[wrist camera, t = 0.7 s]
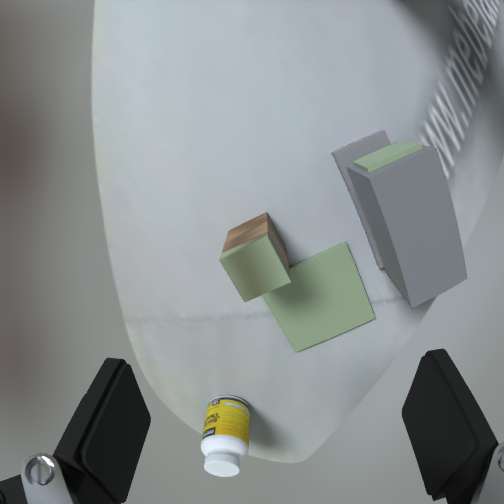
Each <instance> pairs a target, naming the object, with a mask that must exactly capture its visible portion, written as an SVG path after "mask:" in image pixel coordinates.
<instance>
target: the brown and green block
mask: <svg viewBox="0 0 504 504" xmlns="http://www.w3.org/2000/svg"><path fill="white" fill-rule="evenodd" d="M219 261H220V262H221V264H222V266H223V267H224V269H225V271H226V272H227V274H228V276H229V277H230V279H231V281H232V282H233V284H234V286H235V287H236V289H237V291H238V292H239V294H240V295H241V297H242V299H243V300H244V302H247V301H249V300H251V299H254V298H256V297H258V296H261V295H263V294H265V293H268V292H270V291H272V290H274V289H277V288H279V287H281V286H283V285H286V284H288V283H290V282H291V278H290V272H289V266H288V260H287V254H286V249H285V246H284V244H283V242H282V241H281V239H280V237H279V235H278V233H277V231H276V229H275V227H274V225H273V223H272V221H271V219H270V217H269V215H268V213H267V212H266V213H264V214H262V215H260V216H258V217H256V218H254V219H252V220H250V221H247V222H245V223H243V224H241V225H239V226H237V227H235V228H233V229H231V230H229V232H228V235H227V238H226V241H225V244H224V248H223V251H222V254H221V257H220V260H219Z"/></svg>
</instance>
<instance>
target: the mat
mask: <svg viewBox="0 0 504 504" xmlns="http://www.w3.org/2000/svg"><path fill="white" fill-rule="evenodd" d="M289 272H290V278H291V282H290V283H288V284H286V285H283V286H281V287H279V288H277V289H274V290H272V291H270V292H268V293H265V294H263V295H262V297H263V298H264V300H265V302H266V304H267V305H268V307H269V309H270V310H271V312H272V314H273V316H274V317H275V319H276V321H277V322H278V324H279V326H280V328H281V329H282V331H283V333H284V334H285V336H286V338H287V340H288V341H289V343H290V345H291V346H292V348H293V350H294V351H295V352H298V351H300V350H303V349H305V348H308V347H310V346H313V345H315V344H318V343H320V342H322V341H325V340H327V339H330V338H332V337H334V336H337V335H339V334H341V333H344V332H346V331H348V330H350V329H353V328H355V327H357V326H359V325H362V324H364V323H366V322H368V321H370V320H372V319H375V316H374V314H373V311H372V308H371V305H370V303H369V300H368V297H367V294H366V292H365V289H364V286H363V284H362V281H361V279H360V276H359V273H358V271H357V268H356V266H355V263H354V261H353V258H352V256H351V253H350V251H349V248H348V246H347V244H346V242H343V243H341V244H339V245H337V246H335V247H333V248H330V249H328V250H326V251H324V252H322V253H320V254H318V255H315V256H313V257H311V258H309V259H307V260H304V261H302V262H300V263H298V264H296V265H294V266H291V267H289Z"/></svg>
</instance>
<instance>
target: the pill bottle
mask: <svg viewBox="0 0 504 504" xmlns="http://www.w3.org/2000/svg"><path fill="white" fill-rule="evenodd" d="M249 426H250V408H249V405H248V404H247V403H246V402H245V401H244V400H242V399H240V398H238V397H235V396H229V395H224V396H219V397H216V398H214V399H212V400H211V401H210V403H209V404H208V408H207V414H206V419H205V425H204V430H203V436H202V442H201V450H202V452H203V454H204V455H205V456H206V458H205V463H204V468H205V470H206V471H207V472H209V473H210V474H213V475H216V476H221V477H230V476H235V475H237V474H238V473H239V472H240V465H241V464H240V460H242V459H243V458H245V456H246V455H247V453H248V445H249Z"/></svg>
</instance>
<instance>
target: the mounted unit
mask: <svg viewBox="0 0 504 504" xmlns="http://www.w3.org/2000/svg"><path fill="white" fill-rule="evenodd" d="M332 154H333V157H334V159H335V161H336V163H337V165H338V168H339V170H340V172H341V174H342V177H343V179H344V181H345V184H346V186H347V188H348V191H349V193H350V195H351V198H352V200H353V203H354V205H355V207H356V210H357V212H358V215H359V217H360V220H361V222H362V225H363V228H364V230H365V233H366V235H367V238H368V241H369V243H370V246H371V249H372V251H373V254H374V257H375V260H376V263H377V265H378V267H379V268H380V269H381V268H383V267H384V268H385V271H386V274H387V275H388V276H389V278H390V279H391V280H392V282H393V283H394V284H395V286H396V287H397V288H398V290H399V291H400V293H401V294H402V295H403V297H404V298H405V300H406V301H407V302H408V304H409V305H410V307H411V308H412V309H413V308H415V307H416V306H418V305H420V304H422V303H424V302H426V301H428V300H430V299H432V298H434V297H435V296H437V295H439V294H441V293H443V292H445V291H446V290H448V289H450V288H452V287H454V286H455V285H457V284H459V283H461V282H462V281H464V280H466V279H467V273H466V267H465V260H464V255H463V249H462V244H461V239H460V234H459V229H458V224H457V220H456V216H455V211H454V207H453V203H452V199H451V195H450V192H449V188H448V184H447V181H446V177H445V174H444V171H443V167H442V164H441V161H440V158H439V155H438V152H437V149H436V148H434V147H429V146H423V145H421V144H420V143H414V142H408V141H401V140H400V141H398V142H395V143H393V144H391V145H390V142H389V140H388V137H387V135H386V133H385V131H382V130H381V131H379V132H376V133H374V134H372V135H370V136H367V137H365V138H363V139H360V140H358V141H356V142H354V143H351V144H349V145H347V146H345V147H342V148H340V149H338V150H336V151H334V152H332Z"/></svg>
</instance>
